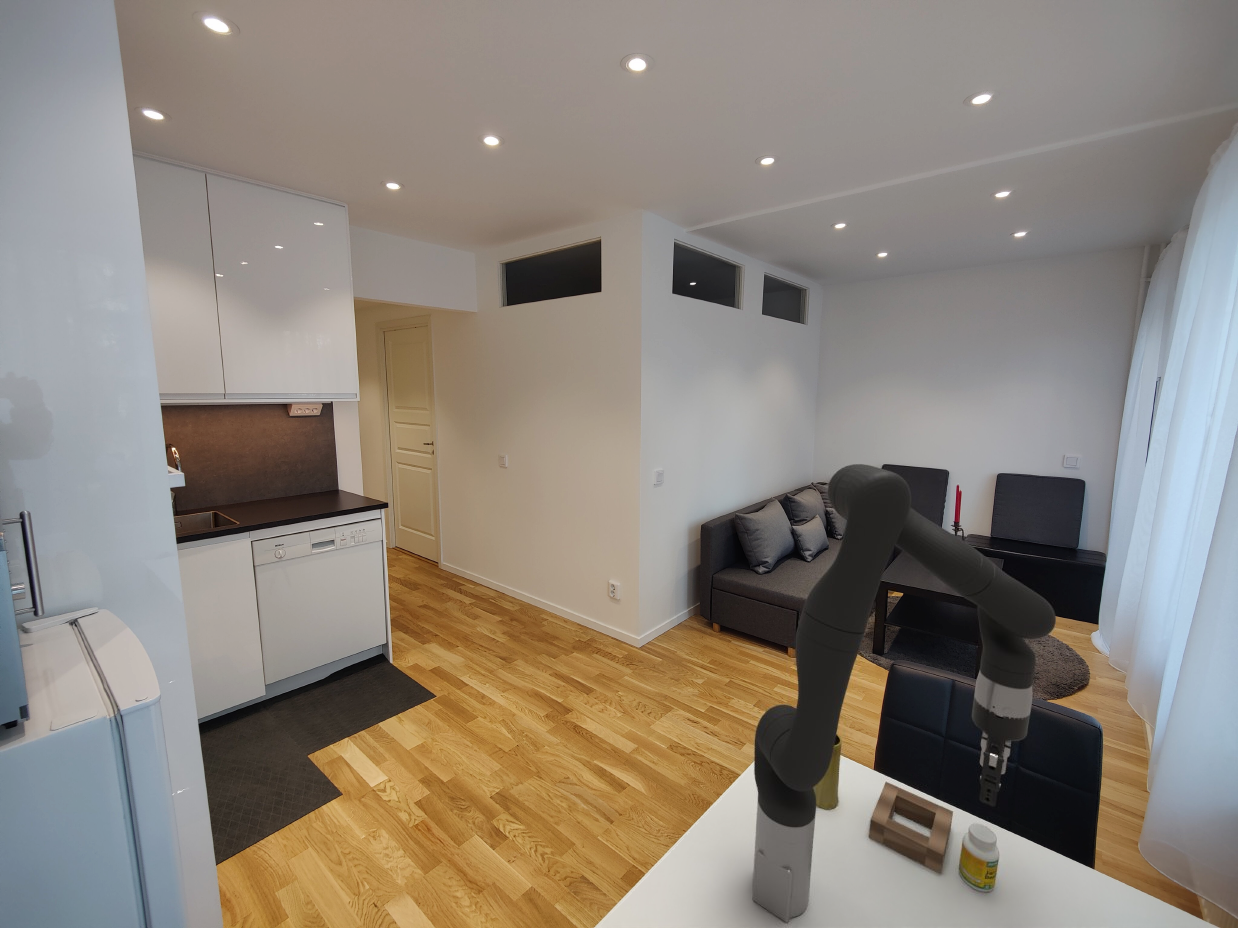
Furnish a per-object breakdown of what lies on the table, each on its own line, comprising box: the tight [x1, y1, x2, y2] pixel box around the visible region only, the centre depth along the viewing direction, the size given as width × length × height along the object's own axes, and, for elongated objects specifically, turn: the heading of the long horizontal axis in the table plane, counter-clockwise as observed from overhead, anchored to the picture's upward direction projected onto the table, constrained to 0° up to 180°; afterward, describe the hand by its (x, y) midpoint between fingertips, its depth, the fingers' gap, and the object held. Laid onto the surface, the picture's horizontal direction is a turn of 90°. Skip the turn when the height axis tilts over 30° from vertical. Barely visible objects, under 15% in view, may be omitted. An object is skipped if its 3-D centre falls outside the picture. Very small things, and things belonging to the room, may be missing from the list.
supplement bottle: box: [958, 822, 1000, 893], centre depth 93 cm, size 5×5×10 cm
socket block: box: [868, 781, 954, 875], centre depth 102 cm, size 12×12×4 cm
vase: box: [813, 732, 843, 810], centre depth 110 cm, size 6×6×14 cm
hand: (989, 786), depth 90 cm, fingers open, 8 cm apart
